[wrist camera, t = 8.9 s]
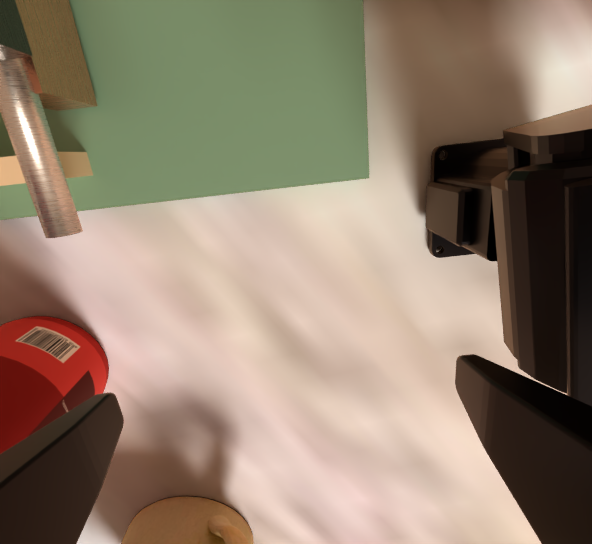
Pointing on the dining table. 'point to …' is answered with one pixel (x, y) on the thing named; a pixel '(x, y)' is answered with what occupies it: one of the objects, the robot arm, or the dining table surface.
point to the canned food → (45, 374)
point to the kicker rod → (42, 99)
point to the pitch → (207, 102)
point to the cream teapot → (188, 523)
